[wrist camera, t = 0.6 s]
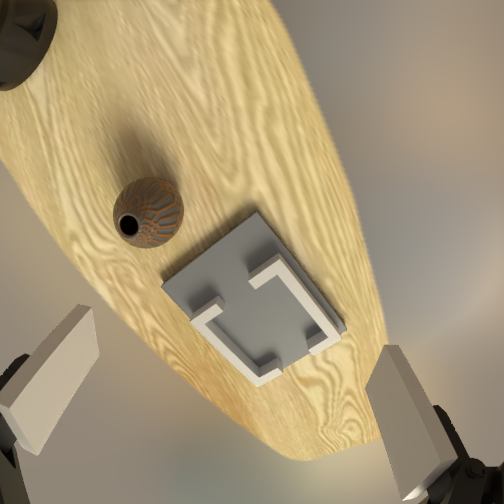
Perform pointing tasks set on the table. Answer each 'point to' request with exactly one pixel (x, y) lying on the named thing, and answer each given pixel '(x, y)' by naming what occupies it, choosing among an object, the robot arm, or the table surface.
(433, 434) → the robot arm
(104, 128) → the table surface
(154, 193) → the vase
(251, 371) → the board
